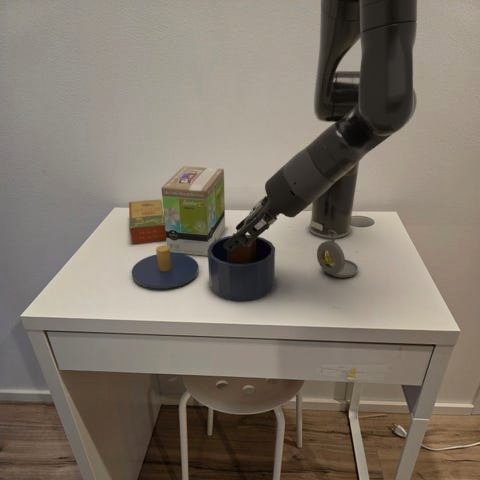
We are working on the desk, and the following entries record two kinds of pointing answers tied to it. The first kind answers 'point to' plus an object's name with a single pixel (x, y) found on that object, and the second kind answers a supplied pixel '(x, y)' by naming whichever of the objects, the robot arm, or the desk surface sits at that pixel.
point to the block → (243, 254)
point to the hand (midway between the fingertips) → (233, 240)
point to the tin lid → (165, 269)
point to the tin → (241, 272)
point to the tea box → (194, 209)
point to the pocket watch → (335, 259)
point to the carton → (146, 221)
